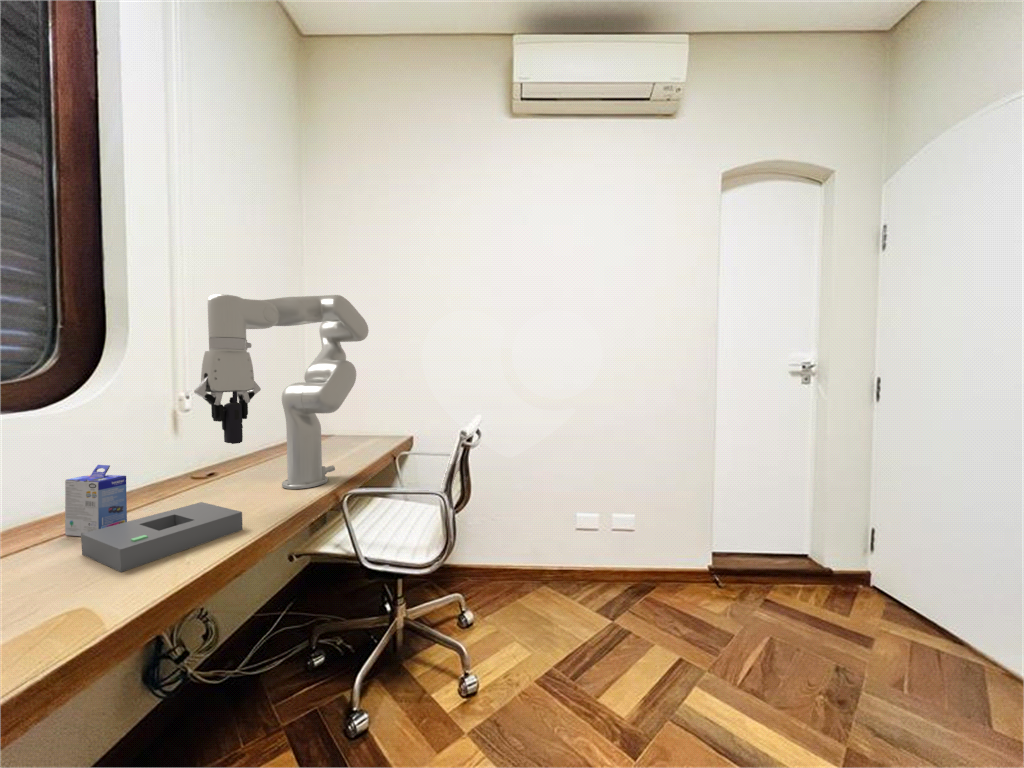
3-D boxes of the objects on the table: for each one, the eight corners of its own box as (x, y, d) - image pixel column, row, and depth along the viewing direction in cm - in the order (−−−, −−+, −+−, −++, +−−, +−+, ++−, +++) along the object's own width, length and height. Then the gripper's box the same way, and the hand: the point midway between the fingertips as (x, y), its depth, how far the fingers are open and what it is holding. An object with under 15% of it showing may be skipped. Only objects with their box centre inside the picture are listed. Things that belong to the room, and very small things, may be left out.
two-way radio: (244, 443, 96) (243, 382, 96) (223, 445, 93) (221, 382, 92) (237, 440, 99) (236, 382, 99) (216, 443, 96) (215, 382, 96)
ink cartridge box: (130, 529, 87) (127, 464, 86) (99, 539, 81) (96, 470, 81) (96, 526, 89) (93, 463, 88) (64, 536, 83) (61, 469, 83)
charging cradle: (202, 518, 92) (201, 500, 92) (242, 529, 85) (242, 510, 85) (81, 554, 74) (81, 532, 74) (121, 572, 67) (120, 547, 67)
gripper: (254, 348, 105) (256, 415, 105) (178, 344, 89) (181, 423, 90) (271, 347, 101) (273, 416, 102) (196, 343, 86) (199, 425, 87)
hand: (230, 419), depth 96 cm, fingers closed on two-way radio, 4 cm apart
